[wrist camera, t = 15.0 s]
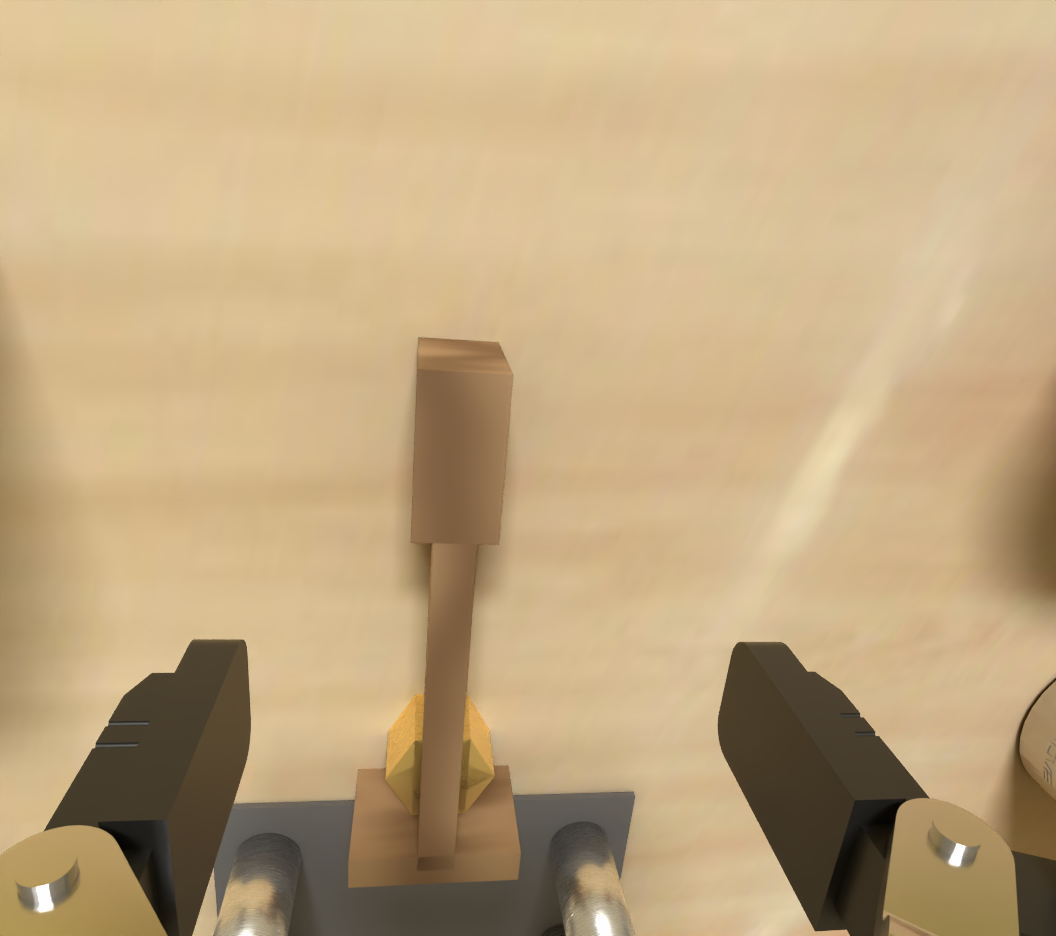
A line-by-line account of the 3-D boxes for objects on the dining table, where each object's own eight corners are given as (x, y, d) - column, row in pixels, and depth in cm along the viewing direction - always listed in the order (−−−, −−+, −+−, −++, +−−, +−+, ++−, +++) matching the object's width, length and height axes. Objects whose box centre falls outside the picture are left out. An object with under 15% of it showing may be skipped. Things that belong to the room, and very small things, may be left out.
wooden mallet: (550, 345, 28) (575, 378, 24) (505, 789, 36) (517, 879, 31) (363, 333, 27) (351, 365, 23) (358, 794, 35) (348, 887, 30)
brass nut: (492, 693, 34) (498, 739, 31) (486, 762, 35) (491, 813, 33) (389, 694, 33) (386, 741, 30) (387, 765, 35) (384, 816, 32)
